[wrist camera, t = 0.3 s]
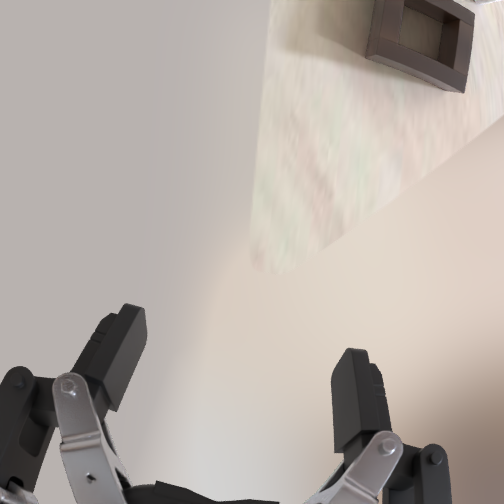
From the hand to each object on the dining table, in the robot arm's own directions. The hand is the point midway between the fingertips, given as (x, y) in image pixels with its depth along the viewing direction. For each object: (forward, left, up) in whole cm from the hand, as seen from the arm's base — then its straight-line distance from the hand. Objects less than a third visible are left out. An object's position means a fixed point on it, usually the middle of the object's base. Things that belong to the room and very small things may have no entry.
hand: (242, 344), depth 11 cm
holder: (-21, +14, -28) cm, 38 cm away
